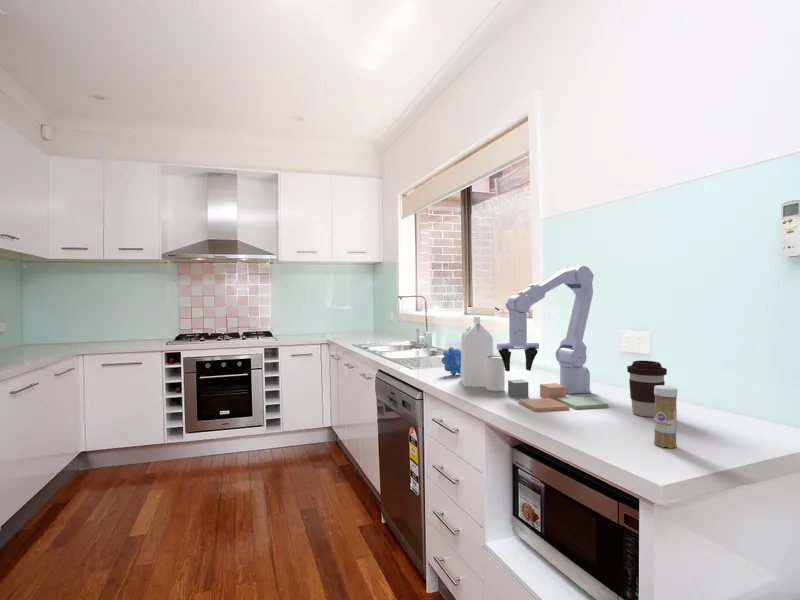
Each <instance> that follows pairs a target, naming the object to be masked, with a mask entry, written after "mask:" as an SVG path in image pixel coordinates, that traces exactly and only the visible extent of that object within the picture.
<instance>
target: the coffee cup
mask: <svg viewBox="0 0 800 600" xmlns="http://www.w3.org/2000/svg"><path fill="white" fill-rule="evenodd" d="M626 368H627V369H626V371H627V373H629V378H628V381H629V396H630V399H631V411H632V413H633V414H634V415H636V416H639V417H644V416H645V417H646V418H654V416H655V394H654V387H655V386H657V385H666V384H665V383H666V382H665V376H667V374H668V369H667V368H666V367H663V365H662V363H661V362H659V361H653V360H635V361H632V364H631V365H627V367H626ZM645 417H644V418H645Z"/></svg>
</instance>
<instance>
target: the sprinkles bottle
mask: <svg viewBox="0 0 800 600" xmlns="http://www.w3.org/2000/svg"><path fill="white" fill-rule="evenodd" d="M654 394H655V416H654V417H653V419H654V421H653V422H654V425H653V426H654V429H653V430H654V440H653V443H654V445H655V444H656V445H655V446H657V445H658V446H657V447H660V446H661V448H664V447H668V448H667V449H675V448H677V446H678V445H677V428H678V427H677V426H678V425H677V417H678V416H677V415H678V414H677V409H678V408H677V398H678V388H677V386H676V387H675V386H672V385H666V384H664V385H657V386H655V387H654ZM674 447H675V448H674Z"/></svg>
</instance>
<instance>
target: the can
mask: <svg viewBox="0 0 800 600" xmlns="http://www.w3.org/2000/svg"><path fill="white" fill-rule="evenodd" d="M505 375H506V374H505V366H504V363H503V360H502V357H501V355H494V356H488V358H487V360H486V387H485V388H486V390H487V391H488V392H492V393H493V392H495V393H498V392H504V391H505V385H506V384H505V382H506V381H505V380H506V379H505Z"/></svg>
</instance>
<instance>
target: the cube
mask: <svg viewBox="0 0 800 600" xmlns="http://www.w3.org/2000/svg"><path fill="white" fill-rule="evenodd" d="M507 395H508V396H510V397H512V398H529V382H528V381H525V380H523V379H510V380H509V379H508V380H507Z"/></svg>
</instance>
